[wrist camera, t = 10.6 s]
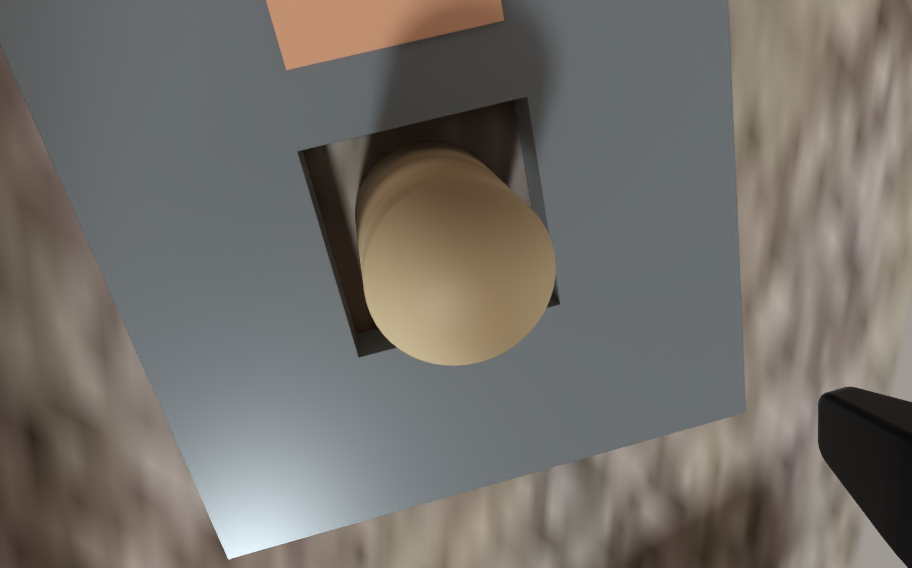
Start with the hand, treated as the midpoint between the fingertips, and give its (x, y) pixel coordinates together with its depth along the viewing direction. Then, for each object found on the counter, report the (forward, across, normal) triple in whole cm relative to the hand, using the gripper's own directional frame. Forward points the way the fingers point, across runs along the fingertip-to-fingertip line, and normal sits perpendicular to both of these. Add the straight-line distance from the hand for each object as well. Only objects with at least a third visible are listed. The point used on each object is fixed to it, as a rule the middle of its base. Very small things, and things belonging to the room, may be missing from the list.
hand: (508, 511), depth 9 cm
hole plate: (+11, -1, -1) cm, 11 cm away
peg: (+11, -1, -1) cm, 11 cm away
